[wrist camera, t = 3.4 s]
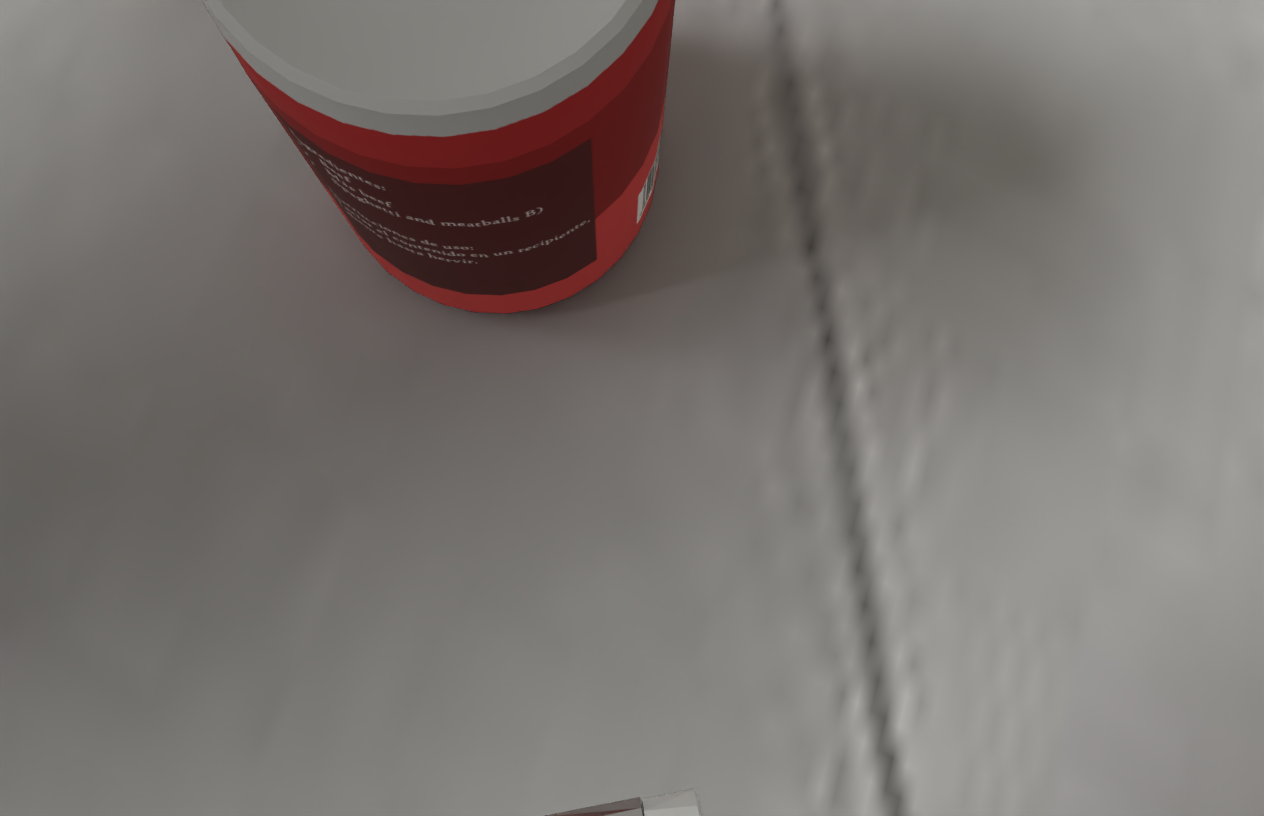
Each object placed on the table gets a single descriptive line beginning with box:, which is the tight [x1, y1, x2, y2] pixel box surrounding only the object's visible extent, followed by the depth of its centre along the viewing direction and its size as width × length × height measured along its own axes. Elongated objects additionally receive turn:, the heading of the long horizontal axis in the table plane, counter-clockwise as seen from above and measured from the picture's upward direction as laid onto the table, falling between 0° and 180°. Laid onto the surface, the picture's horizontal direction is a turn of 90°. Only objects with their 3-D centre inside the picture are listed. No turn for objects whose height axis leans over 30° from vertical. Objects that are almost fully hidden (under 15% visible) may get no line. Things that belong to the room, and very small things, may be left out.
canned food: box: [202, 0, 675, 313], centre depth 22 cm, size 8×8×11 cm
